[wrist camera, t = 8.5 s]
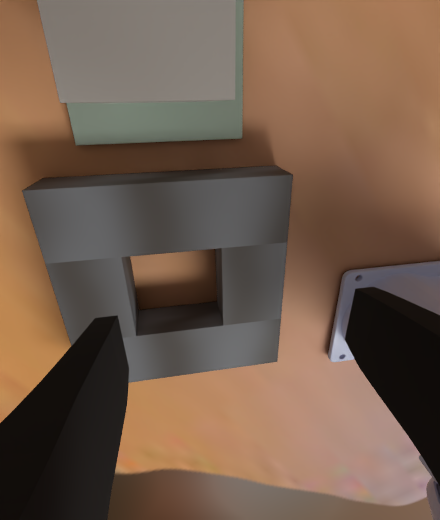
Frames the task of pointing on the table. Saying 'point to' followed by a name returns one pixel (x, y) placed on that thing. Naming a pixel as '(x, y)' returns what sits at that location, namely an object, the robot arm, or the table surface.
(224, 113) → the mat
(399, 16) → the table surface
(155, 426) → the table surface
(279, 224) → the pocket board
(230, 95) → the block
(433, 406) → the robot arm
